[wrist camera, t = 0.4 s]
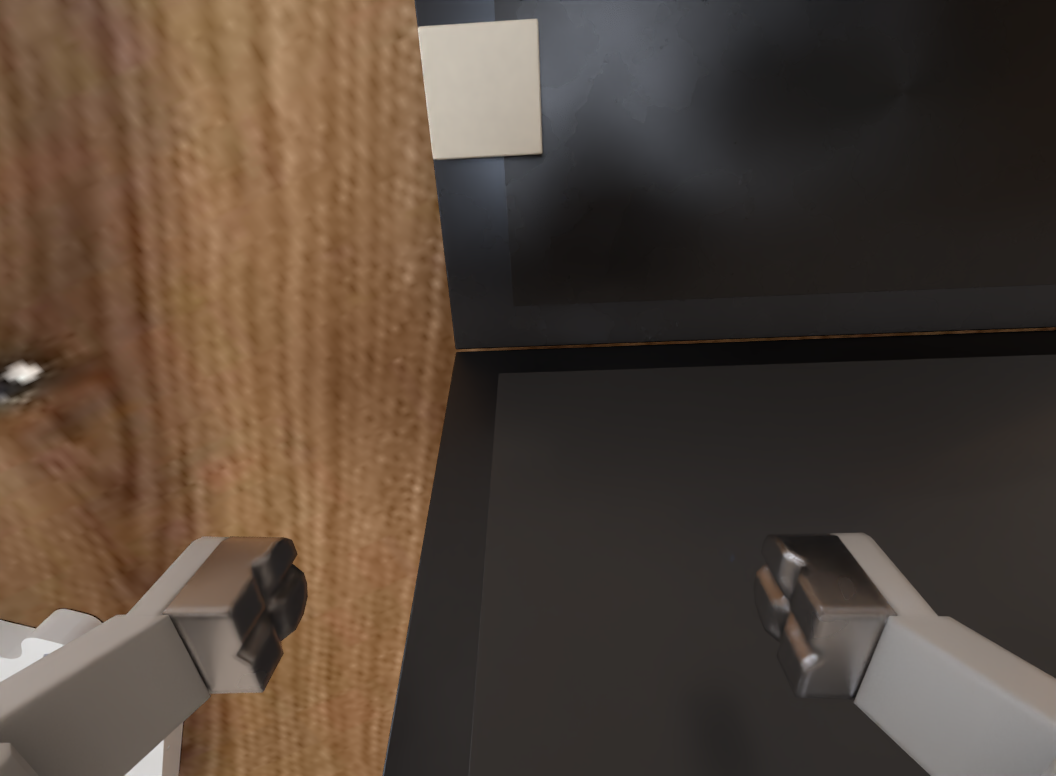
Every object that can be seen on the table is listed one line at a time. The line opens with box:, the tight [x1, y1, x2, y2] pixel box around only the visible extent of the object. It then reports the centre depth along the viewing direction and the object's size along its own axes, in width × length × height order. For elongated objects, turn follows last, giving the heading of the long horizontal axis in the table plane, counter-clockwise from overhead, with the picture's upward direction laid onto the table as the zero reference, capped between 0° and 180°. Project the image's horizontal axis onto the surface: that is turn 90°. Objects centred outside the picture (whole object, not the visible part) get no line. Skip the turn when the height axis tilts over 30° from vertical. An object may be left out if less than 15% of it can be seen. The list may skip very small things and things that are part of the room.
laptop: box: [415, 0, 1056, 349], centre depth 15 cm, size 21×30×2 cm
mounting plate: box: [0, 609, 183, 776], centre depth 32 cm, size 18×13×2 cm
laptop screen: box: [383, 330, 1056, 776], centre depth 12 cm, size 21×30×1 cm
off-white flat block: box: [418, 19, 543, 160], centre depth 15 cm, size 3×3×1 cm
